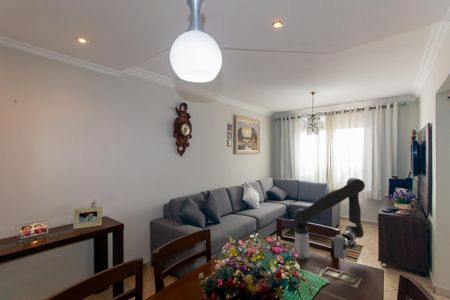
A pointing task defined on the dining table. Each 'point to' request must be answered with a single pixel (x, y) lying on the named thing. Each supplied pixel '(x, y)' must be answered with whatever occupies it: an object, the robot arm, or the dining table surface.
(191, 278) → the dining table surface
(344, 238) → the plug
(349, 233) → the robot arm
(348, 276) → the dock
